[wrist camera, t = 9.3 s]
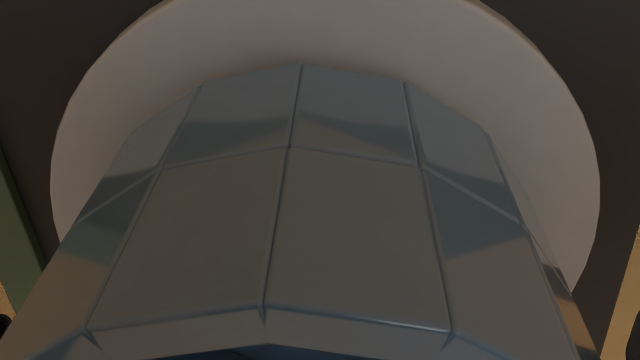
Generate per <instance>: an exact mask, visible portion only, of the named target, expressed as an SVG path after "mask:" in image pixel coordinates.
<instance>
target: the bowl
mask: <svg viewBox="0 0 640 360" xmlns="http://www.w3.org/2000/svg"><path fill="white" fill-rule="evenodd" d="M0 360H601V359H600V357H599V355H598V353H597V350H596V348H595V346H594V344H593V341H592V339H591V337H590V335H589V332H588V330H587V328H586V326H585V323H584V321H583V319H582V317H581V314H580V312H579V310H578V308H577V305H576V303H575V302H574V300H573V299H572V294H571V292H570V290H569V288H568V285H567V283H566V281H565V279H564V276H563V274H562V272H561V270H560V267H559V265H558V263H557V261H556V258H555V256H554V254H553V252H552V249H551V247H550V245H549V243H548V240H547V238H546V236H545V234H544V231H543V229H542V227H541V224H540V222H539V220H538V218H537V215H536V213H535V211H534V209H533V206H532V204H531V202H530V200H529V197H528V195H527V194H526V192H525V190H524V189H523V187H522V186H521V184H520V183H519V181H518V179H517V178H516V176H515V175H514V173H513V172H512V170H511V168H510V167H509V165H508V164H507V162H506V161H505V159H504V157H503V156H502V154H501V153H500V151H499V150H498V148H497V146H496V145H495V143H494V142H493V140H492V139H491V137H490V135H489V134H488V133H487V132H485V131H484V130H483V129H482V128H481V127H480V126H478V125H477V124H475V123H473V122H472V121H470V120H469V119H467V118H465V117H464V116H462V115H461V114H459V113H457V112H456V111H454V110H452V109H451V108H449V107H448V106H446V105H444V104H443V103H441V102H440V101H438V100H436V99H435V98H433V97H432V96H430V95H428V94H427V93H425V92H424V91H422V90H420V89H419V88H417V87H415V86H414V85H412V84H411V83H408V82H404V83H403V82H402V81H401V80H399V79H395V78H389V77H383V76H377V75H371V74H366V73H360V72H354V71H348V70H342V69H336V68H330V67H325V66H319V65H313V64H303V65H302V64H301V63H300V62H296V63H292V64H287V65H282V66H277V67H272V68H267V69H263V70H258V71H253V72H248V73H243V74H238V75H233V76H229V77H224V78H219V79H214V80H209V81H205V82H203V84H202V85H199V86H196V87H195V88H193V89H192V90H190V91H189V92H188V93H186V94H185V95H183V96H182V97H180V98H179V99H178V100H176V101H175V102H173V103H172V104H171V105H169V106H168V107H166V108H165V109H163V110H162V111H161V112H159V113H158V114H156V115H155V116H154V117H152V118H151V119H149V120H148V121H146V122H145V123H144V124H142V125H141V126H139V127H138V128H137V129H135V130H134V131H132V133H131V135H130V136H129V137H128V138H127V139H126V140H125V141H124V143H123V145H122V146H121V148H120V149H119V151H118V153H117V154H116V156H115V157H114V159H113V161H112V162H111V164H110V165H109V167H108V169H107V170H106V172H105V173H104V175H103V177H102V178H101V180H100V181H99V183H98V185H97V186H96V188H95V189H94V191H93V193H92V194H91V196H90V197H89V199H88V201H87V202H86V204H85V205H84V207H83V209H82V210H81V212H80V213H79V215H78V217H77V218H76V220H75V221H74V223H73V225H72V226H71V228H70V230H69V232H68V233H67V234H66V235H65V237H64V239H63V240H62V242H61V243H60V245H59V247H58V248H57V250H56V251H55V253H54V255H53V256H52V258H51V259H50V261H49V263H48V264H47V266H46V267H45V269H44V271H43V272H42V274H41V275H40V277H39V279H38V280H37V282H36V283H35V285H34V287H33V288H32V290H31V291H30V293H29V295H28V296H27V298H26V299H25V301H24V303H23V304H22V306H21V307H20V309H19V311H18V312H17V314H16V315H15V317H14V319H13V320H12V322H11V323H10V325H9V327H8V328H7V330H6V331H5V333H4V335H3V336H2V338H1V339H0Z"/></svg>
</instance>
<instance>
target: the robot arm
mask: <svg viewBox="0 0 640 360" xmlns="http://www.w3.org/2000/svg"><path fill="white" fill-rule="evenodd" d="M11 322H12V320H11V318H9V317H8V316H7V315H4V314H0V339H1V338H2V336H3V335H4V333H5V331H6V330H7V328H8V327H9V325H10V323H11ZM626 360H640V311H639V312H638V314H637V316H636V319H635V322H634V325H633V328H632V331H631V334H630V337H629V340H628V343H627V347H626Z"/></svg>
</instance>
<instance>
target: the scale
mask: <svg viewBox="0 0 640 360" xmlns="http://www.w3.org/2000/svg"><path fill="white" fill-rule="evenodd" d="M296 62H300V63H301V64H302V65H303V64H313V65H319V66H325V67H330V68H336V69H342V70H348V71H354V72H360V73H366V74H371V75H377V76H383V77H389V78H395V79H399V80H401V81H402V82H403V83H404V82H408V83H411V84H412V85H414V86H415V87H417V88H419V89H420V90H422V91H424V92H425V93H427V94H428V95H430V96H432V97H433V98H435V99H436V100H438V101H440V102H441V103H443V104H444V105H446V106H448V107H449V108H451V109H452V110H454V111H456V112H457V113H459V114H461V115H462V116H464V117H465V118H467V119H469V120H470V121H472V122H473V123H475V124H477V125H478V126H480V127H481V128H482V129H483V130H484V131H485V132H487V133H488V134H489V135H490V137H491V139H492V140H493V142H494V143H495V145H496V146H497V148H498V150H499V151H500V153H501V154H502V156H503V157H504V159H505V161H506V162H507V164H508V165H509V167H510V168H511V170H512V172H513V173H514V175H515V176H516V178H517V179H518V181H519V183H520V184H521V186H522V187H523V189H524V190H525V192H526V194H527V195H528V197H529V200H530V202H531V204H532V206H533V209H534V211H535V213H536V215H537V218H538V220H539V222H540V224H541V227H542V229H543V231H544V234H545V236H546V238H547V240H548V243H549V245H550V247H551V249H552V252H553V254H554V256H555V258H556V261H557V263H558V265H559V267H560V270H561V272H562V274H563V276H564V279H565V281H566V283H567V285H568V288H569V290H570V292H571V294H572V299H573V300H574V302H575V303H576V305H577V308H578V310H579V312H580V314H581V317H582V319H583V321H584V323H585V326H586V328H587V330H588V332H589V335H590V337H591V339H592V341H593V344H594V346H595V348H596V350H597V353H598V355H599V357H600V355H601V351H602V348H603V345H604V341H605V338H606V335H607V331H608V328H609V324H610V321H611V318H612V314H613V311H614V308H615V304H616V301H617V298H618V294H619V291H620V288H621V284H622V281H623V278H624V274H625V271H626V268H627V264H628V261H629V257H630V254H631V251H632V247H633V244H634V241H635V237H636V234H637V231H638V227H639V224H640V0H0V281H1V283H2V285H3V287H4V289H5V291H6V294H7V296H8V298H9V300H10V302H11V304H12V307H13V309H14V311H15V313H16V314H17V312H18V311H19V309H20V307H21V306H22V304H23V303H24V301H25V299H26V298H27V296H28V295H29V293H30V291H31V290H32V288H33V287H34V285H35V283H36V282H37V280H38V279H39V277H40V275H41V274H42V272H43V271H44V269H45V267H46V266H47V264H48V263H49V261H50V259H51V258H52V256H53V255H54V253H55V251H56V250H57V248H58V247H59V245H60V243H61V242H62V240H63V239H64V237H65V235H66V234H67V233H68V232H69V230H70V228H71V226H72V225H73V223H74V221H75V220H76V218H77V217H78V215H79V213H80V212H81V210H82V209H83V207H84V205H85V204H86V202H87V201H88V199H89V197H90V196H91V194H92V193H93V191H94V189H95V188H96V186H97V185H98V183H99V181H100V180H101V178H102V177H103V175H104V173H105V172H106V170H107V169H108V167H109V165H110V164H111V162H112V161H113V159H114V157H115V156H116V154H117V153H118V151H119V149H120V148H121V146H122V145H123V143H124V141H125V140H126V139H127V138H128V137H129V136H130V135H131V133H132V131H134V130H135V129H137V128H138V127H139V126H141V125H142V124H144V123H145V122H146V121H148V120H149V119H151V118H152V117H154V116H155V115H156V114H158V113H159V112H161V111H162V110H163V109H165V108H166V107H168V106H169V105H171V104H172V103H173V102H175V101H176V100H178V99H179V98H180V97H182V96H183V95H185V94H186V93H188V92H189V91H190V90H192V89H193V88H195V87H196V86H199V85H202V84H203V82H205V81H209V80H214V79H219V78H224V77H229V76H233V75H238V74H243V73H248V72H253V71H258V70H263V69H267V68H272V67H277V66H282V65H287V64H292V63H296Z"/></svg>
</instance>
